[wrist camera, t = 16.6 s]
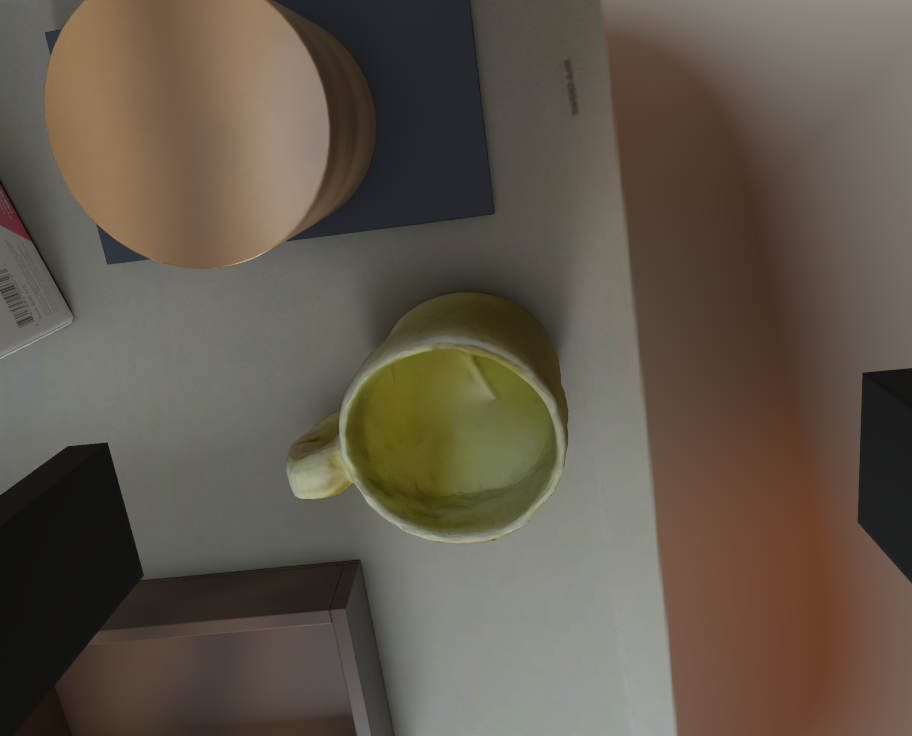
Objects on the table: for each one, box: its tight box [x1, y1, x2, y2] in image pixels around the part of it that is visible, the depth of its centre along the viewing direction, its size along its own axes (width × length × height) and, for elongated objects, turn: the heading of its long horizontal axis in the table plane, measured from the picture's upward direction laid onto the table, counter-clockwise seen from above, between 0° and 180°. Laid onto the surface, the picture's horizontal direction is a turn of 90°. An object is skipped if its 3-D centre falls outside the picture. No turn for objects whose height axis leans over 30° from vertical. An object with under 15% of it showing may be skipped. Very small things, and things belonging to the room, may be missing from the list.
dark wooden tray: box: [14, 560, 394, 736], centre depth 42 cm, size 20×16×4 cm
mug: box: [286, 292, 568, 544], centre depth 34 cm, size 12×10×10 cm
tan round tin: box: [44, 0, 376, 269], centre depth 29 cm, size 9×9×10 cm
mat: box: [45, 0, 494, 264], centre depth 34 cm, size 18×10×1 cm, turn 98°
